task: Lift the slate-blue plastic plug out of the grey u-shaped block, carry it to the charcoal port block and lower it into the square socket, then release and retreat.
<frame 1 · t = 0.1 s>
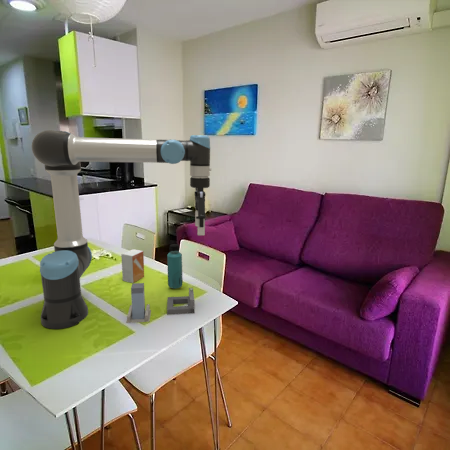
hand: (199, 230, 128), 28 cm above the table, fingers open, 13 cm apart
grey u-shaped block: (139, 317, 116), on the table
small box: (133, 279, 149), on the table
beverage bottle: (175, 288, 140), on the table
plug: (139, 316, 116), point 1 cm above the table, touching grey u-shaped block
port: (180, 308, 123), on the table
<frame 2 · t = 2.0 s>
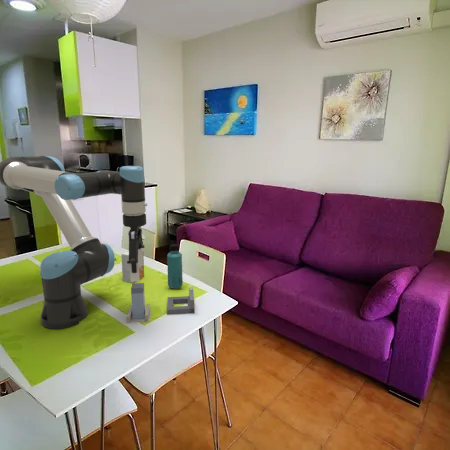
hand: (137, 273, 112), 17 cm above the table, fingers open, 13 cm apart
nothing on the table moved.
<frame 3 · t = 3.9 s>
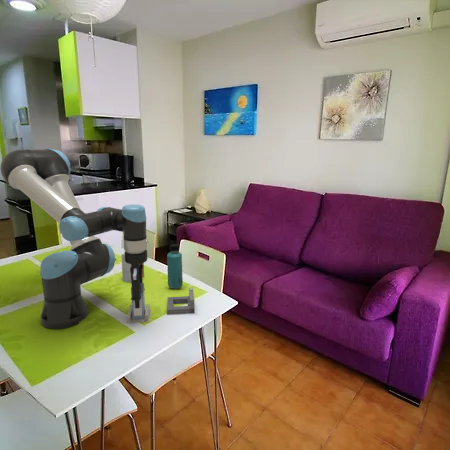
hand: (138, 311, 115), 2 cm above the table, fingers closed on plug, 4 cm apart
plug: (139, 316, 116), point 1 cm above the table, touching gripper, grey u-shaped block
everything else where it was.
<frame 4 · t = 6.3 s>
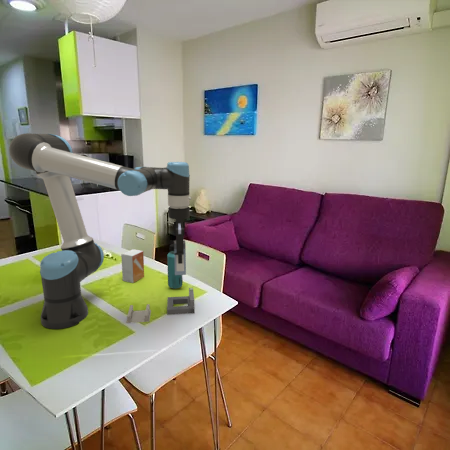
hand: (180, 268, 119), 17 cm above the table, fingers closed on plug, 4 cm apart
plug: (180, 272, 119), point 15 cm above the table, touching gripper
everything else where it was.
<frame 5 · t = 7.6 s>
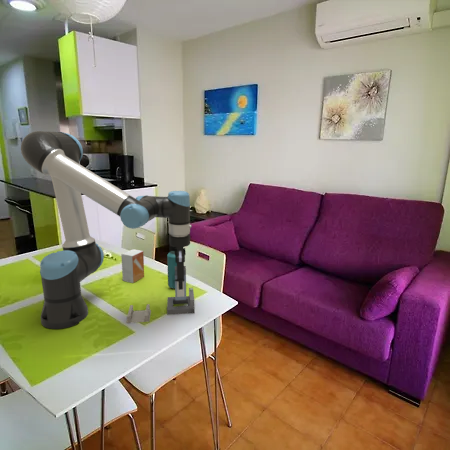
hand: (180, 293, 122), 6 cm above the table, fingers closed on plug, 4 cm apart
plug: (180, 297, 122), point 5 cm above the table, touching gripper
everything else where it was.
when the fingers open (3 cm above the table, at t = 8.5 s): plug drops 1 cm, resting in port.
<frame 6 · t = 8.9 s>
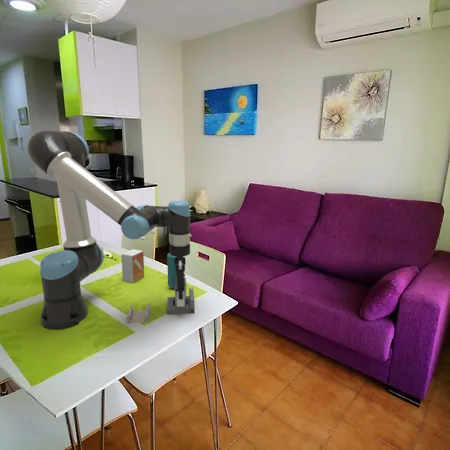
hand: (180, 299, 122), 4 cm above the table, fingers open, 10 cm apart
plug: (180, 308, 123), resting in port
everything else where it was.
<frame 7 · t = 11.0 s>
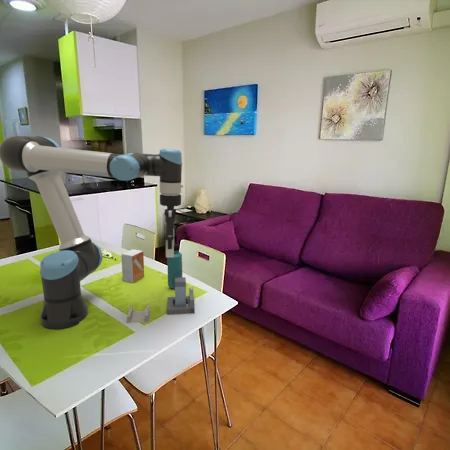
hand: (170, 250, 119), 23 cm above the table, fingers open, 13 cm apart
nothing on the table moved.
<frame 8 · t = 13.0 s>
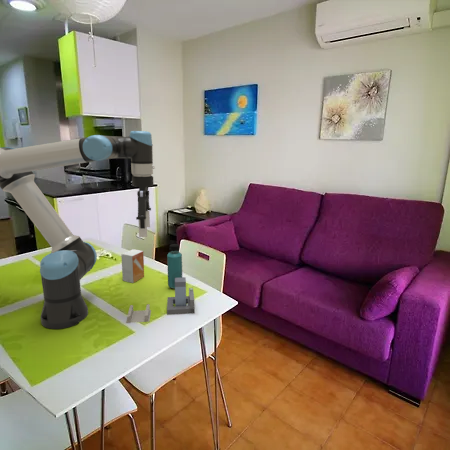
hand: (144, 231, 122), 29 cm above the table, fingers open, 13 cm apart
nothing on the table moved.
at the end: plug 0.0 cm off-centre on the port, point 0.0 cm above the port's base; plug tilted 0°; the gripper is holding nothing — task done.
